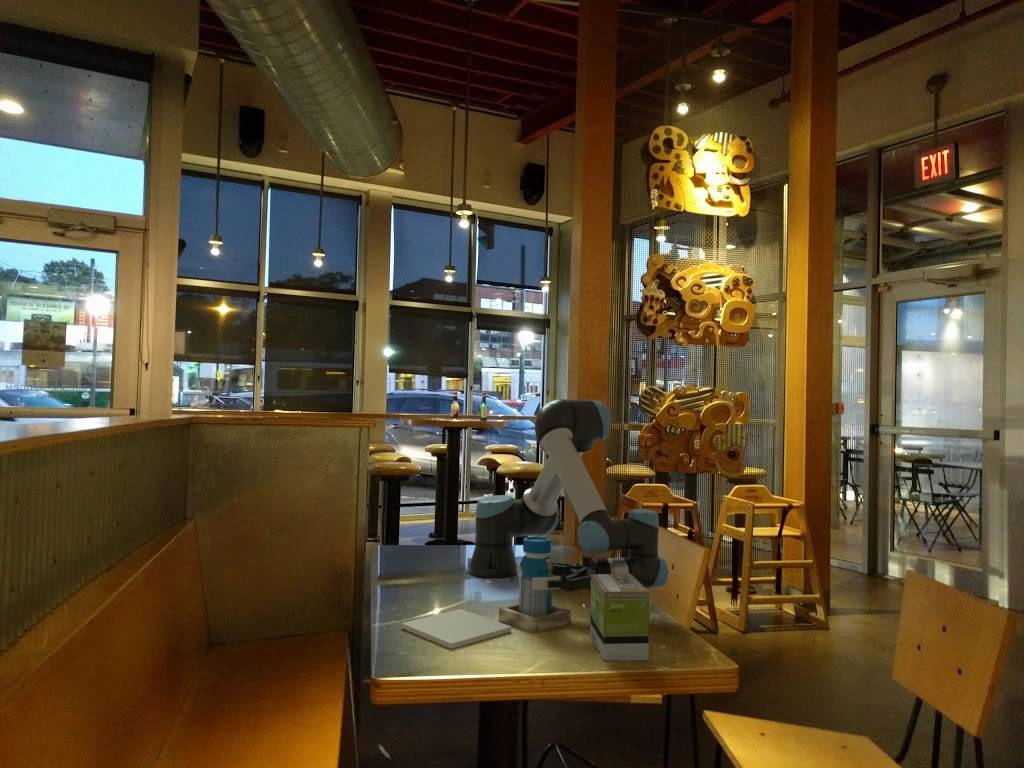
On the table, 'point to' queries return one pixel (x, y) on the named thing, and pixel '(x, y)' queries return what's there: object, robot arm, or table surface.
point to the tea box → (619, 617)
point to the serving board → (456, 628)
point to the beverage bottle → (531, 567)
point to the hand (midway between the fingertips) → (525, 576)
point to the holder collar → (532, 623)
